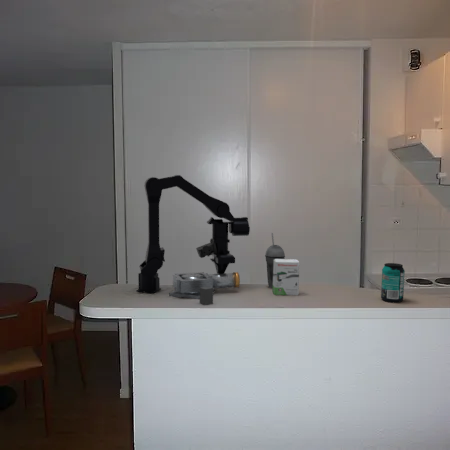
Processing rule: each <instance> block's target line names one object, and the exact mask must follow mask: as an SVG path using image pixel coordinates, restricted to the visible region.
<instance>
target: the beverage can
mask: <svg viewBox="0 0 450 450" xmlns="http://www.w3.org/2000/svg"><path fill="white" fill-rule="evenodd" d="M405 272H406V271H405V269H404V267H403V264H401V263H395V262H388V263H384V266H383V267H382V269H381V290H380V291H381V292H380V293H381V294H380V298H381V299H382V301H384V302H386V301H387V303H393V302H394V303H401V302H402V301H403V300H404V291H405ZM394 303H393V304H394Z"/></svg>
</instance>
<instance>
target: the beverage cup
mask: <svg viewBox="0 0 450 450" xmlns="http://www.w3.org/2000/svg"><path fill="white" fill-rule="evenodd" d="M271 240H272V245H270V246H269V247H268V248H267V249H266V251H265V255H264V257H265V262H266V276H267V286H268V288H269V289H273V263H274V259H286V256H285V251H284V249H283V247H282V246H281V245H278V244H275V239H274V233H273V232H271Z"/></svg>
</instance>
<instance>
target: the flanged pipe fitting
mask: <svg viewBox="0 0 450 450" xmlns="http://www.w3.org/2000/svg"><path fill="white" fill-rule="evenodd" d="M186 274H200V275H203V279H184V280H183V279H182V275H186ZM240 279H241V278H240V274H239V271H237V272H236V271H235V272H227V273H222V274H217V273H208V272H204V271H203V272H202V271H201V272H183V273H182V272H181V273H180V272H179V273H174V274H172V287H173V288H174V290H176V291H177V292H181V293H188V292H200V288H201V287H206V286H208V287H211V288H215V289H227V288H234V289H235V288H240V284H241V280H240Z"/></svg>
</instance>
